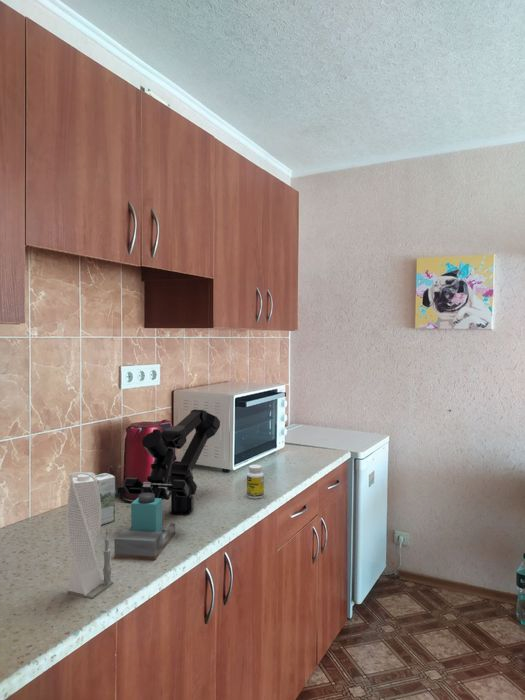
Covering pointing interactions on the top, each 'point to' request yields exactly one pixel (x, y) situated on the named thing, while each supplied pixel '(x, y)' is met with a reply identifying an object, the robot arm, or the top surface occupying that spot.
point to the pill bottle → (255, 482)
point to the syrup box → (106, 497)
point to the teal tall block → (146, 513)
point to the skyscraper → (86, 536)
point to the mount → (142, 543)
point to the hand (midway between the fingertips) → (148, 514)
